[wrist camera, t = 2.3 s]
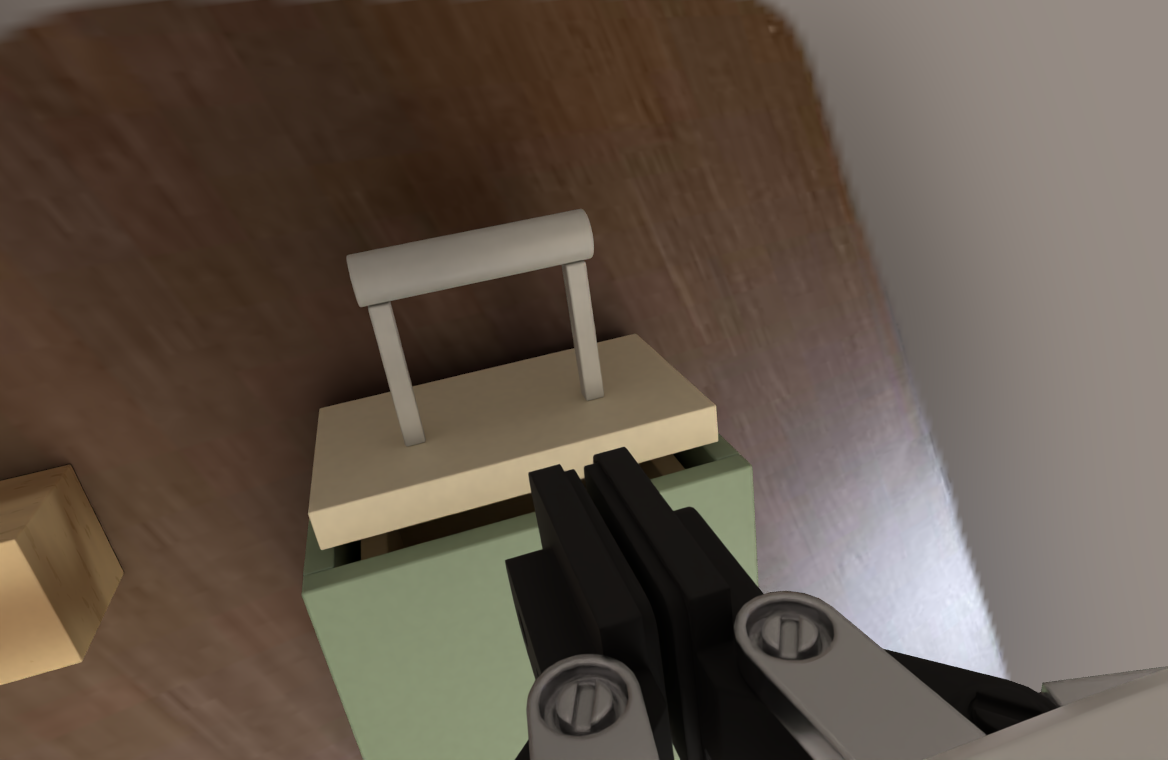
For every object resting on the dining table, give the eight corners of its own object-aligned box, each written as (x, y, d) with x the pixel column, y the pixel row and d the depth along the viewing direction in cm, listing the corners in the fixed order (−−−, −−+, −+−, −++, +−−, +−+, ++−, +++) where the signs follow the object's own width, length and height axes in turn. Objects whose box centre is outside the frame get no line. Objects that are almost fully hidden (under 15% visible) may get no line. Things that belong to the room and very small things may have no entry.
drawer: (265, 242, 23) (233, 302, 16) (617, 175, 25) (702, 206, 19) (412, 698, 30) (425, 852, 24) (668, 616, 33) (740, 738, 27)
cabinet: (316, 444, 26) (300, 593, 19) (647, 363, 29) (753, 465, 21) (411, 734, 32) (429, 938, 25) (679, 646, 35) (770, 805, 27)
